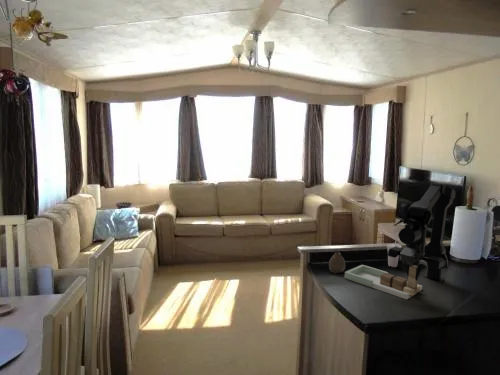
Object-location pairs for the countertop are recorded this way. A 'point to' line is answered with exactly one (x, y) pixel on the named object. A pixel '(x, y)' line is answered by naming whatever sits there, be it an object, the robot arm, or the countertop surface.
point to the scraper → (412, 282)
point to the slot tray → (373, 279)
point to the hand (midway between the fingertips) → (413, 279)
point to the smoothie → (392, 260)
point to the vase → (337, 263)
